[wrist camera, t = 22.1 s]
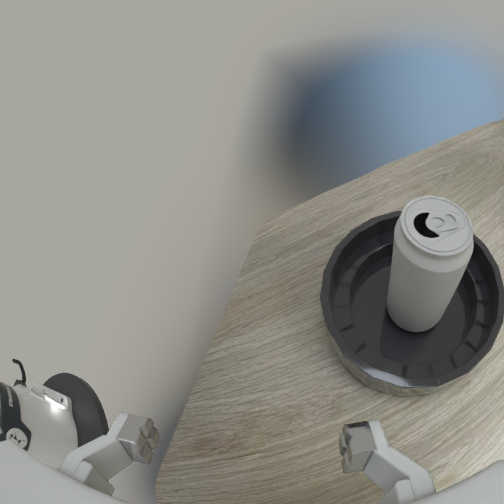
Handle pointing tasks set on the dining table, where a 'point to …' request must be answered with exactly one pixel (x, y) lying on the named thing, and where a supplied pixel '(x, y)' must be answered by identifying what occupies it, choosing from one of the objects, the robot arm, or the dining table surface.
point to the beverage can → (427, 261)
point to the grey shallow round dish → (394, 337)
